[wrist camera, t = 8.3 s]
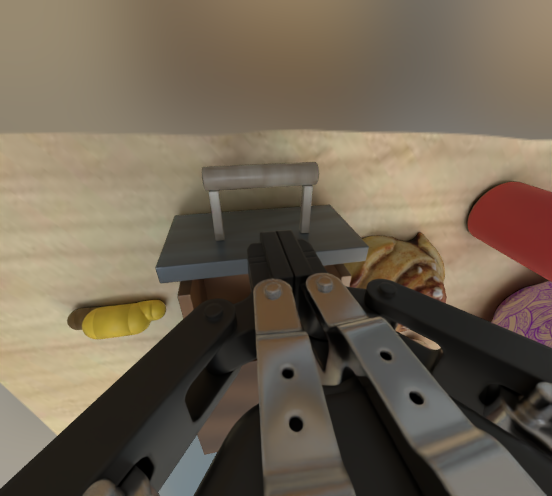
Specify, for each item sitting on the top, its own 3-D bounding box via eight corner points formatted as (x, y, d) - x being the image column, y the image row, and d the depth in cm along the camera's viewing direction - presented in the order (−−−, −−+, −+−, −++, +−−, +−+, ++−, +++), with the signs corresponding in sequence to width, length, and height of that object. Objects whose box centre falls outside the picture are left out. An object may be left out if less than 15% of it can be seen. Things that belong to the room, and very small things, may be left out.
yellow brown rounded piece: (77, 341, 25) (55, 345, 22) (78, 309, 26) (58, 310, 23) (170, 329, 26) (161, 331, 24) (169, 299, 27) (160, 298, 24)
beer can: (505, 231, 30) (648, 303, 20) (455, 239, 29) (577, 318, 19) (532, 175, 26) (724, 229, 16) (476, 183, 25) (640, 245, 15)
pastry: (444, 260, 31) (505, 306, 25) (354, 332, 36) (385, 388, 29) (388, 198, 25) (451, 237, 18) (287, 295, 29) (308, 355, 23)
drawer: (159, 152, 18) (128, 185, 12) (337, 146, 20) (387, 171, 14) (200, 326, 28) (194, 393, 22) (316, 311, 30) (340, 367, 24)
